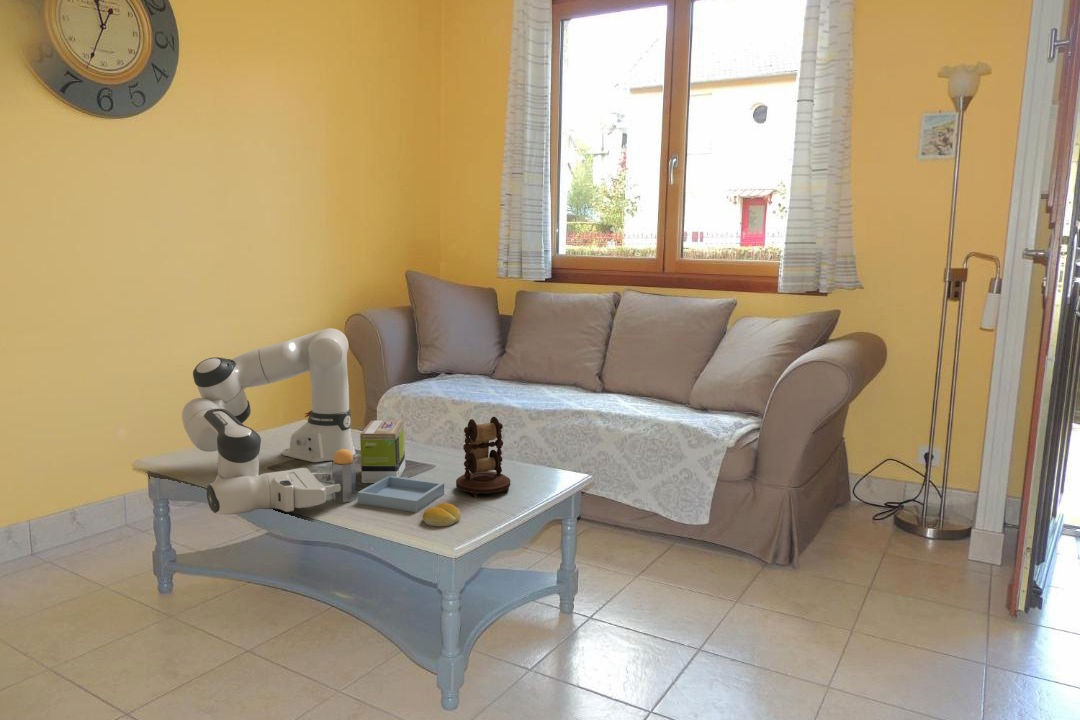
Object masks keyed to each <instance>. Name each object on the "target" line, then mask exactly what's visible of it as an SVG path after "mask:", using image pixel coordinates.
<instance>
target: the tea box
mask: <svg viewBox="0 0 1080 720" xmlns="http://www.w3.org/2000/svg"><path fill="white" fill-rule="evenodd" d="M359 436H360V437H359V440H360V441H359V443H360V462H361V463H360V465H361V467H360V468H361V483H362V484H363V483H376V482H378V481H379V480H381V479H383V478H385V477H387V476H395V477H401V476H402V474H403V473H404V471H405V469H406V450H405V449H406V448H405V447H406V446H405V421H404V420H370V421H369V422H368V424H367V425H366V426H365V427H364V429H363V430H362V432H361V433H360V434H359Z"/></svg>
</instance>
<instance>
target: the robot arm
mask: <svg viewBox="0 0 1080 720" xmlns="http://www.w3.org/2000/svg"><path fill="white" fill-rule="evenodd" d="M349 345H350V344H349V340H348V337H347V336H346V334H344V333H343V331H341V330H339V329H337V328H331V327H330V328H328V327H327V328H324V329H320V330H317V331H313V332H311V333H307V334H304V335H301V336H298V337H295V338H291V339H289V340H285V341H281V342H277V343H274V344H271V345H265V346H263V347H260V348H255V349H253V350H250V351H246V352H245V353H242V354H240V355H238V356H235V357H233V358H232V359H229V358H225V357H218V356H217V357H209V358H205V359H204V360H202V361H200V362H199V363H197V365H196V366H195V367H194V369H193V371H192V376H193V377H192V379H193V381H194V384H195V385H196V386H197V391H198V393H199V395H200V397H197V398H196V397H195V398H194V399H191V400H189V401H188V402H186V404H185V405H184V406H183V409H182V412H181V418H182V424H183V427H184V430H185V433H186V434H187V436H188V438H189V440H190V442H191V443H192V444H193V446H195V447H196V448H197V449H199V450H200V451H203V452H206V453H207V452H209V453H211V452H217V475H216V478H215V480H213V482H210V483H209V484H208V485H207V487H206V499H207V502H208V503H207V504H208V506H209V509H210V510H211V511H212V513H214V514H217V515H238V514H247V513H252V512H253V511H255V510H256V511H257V510H273V509H275V510H281V511H283V512H286V513H289V512H294V510H295V509H303V508H309V507H313V506H317V505H321V504H324V503H326V502H327V496H329V495H331V494H333V492H338V491H340V490H341V485H340V484H339V483H333V482H332V484H329V485H323V484H322V483H321V481H322V482H329V481H331V480H332V479H331V477H332V476H331V475H332V474H330V473H329V472H312V471H310V469H308V468H307V467H299V468H293V469H289V470H288V469H287V470H279V471H273V472H265V473H261V474H260V473H259V472H260V452H261V445H262V444H261V443H262V439H261V436H260V434H259V433H257V431H255V430H254V429H253V428H251V427H249V426H246V425H244V424H243V423H245V422H246V421H247V420H248V418H249V417H250V416H251V409H252V408H251V405H250V402H249V400H248V399H247V398H248V397H247V394H246V392H245V389H247V388H255V387H261V386H264V385H269V384H273V383H276V382H280V381H283V380H284V381H285V380H287V379H292V378H295V377H297V376H300V375H302V374H305V373H308V372H309V376H310V384H311V410H310V411H308V412H305V413H304V415H305V416H304V418H307V417H308V419H307V422H305V423H304V424H303V425H302V426H300V427H299V428H298V429H297V430H295V431H294V432H293V433H292V434H291V437H290V441H289V446H288V447H286V448H284V449H283V450H282V452H281V455H282V456H286V457H290V458H292V459H298V460H302V461H306V462H311V463H320V462H326V461H327V462H329V461H334V456H335V454H336V452H337V451H339V450H341V449H347V450H349V451H350V452H351V453H352V455H353V456H355V455H356V452H357V451H356V449H355V447H354V443H353V439H352V438H353V437H352V431H351V424H352V413H351V408H350V394H349V393H350V389H349V388H350V385H349V378H348V377H349V376H348V375H349V374H348V373H349V371H348V351H349V347H350V346H349Z"/></svg>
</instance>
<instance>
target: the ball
mask: <svg viewBox="0 0 1080 720" xmlns="http://www.w3.org/2000/svg"><path fill="white" fill-rule="evenodd" d="M353 460H354V455H352V453H351V452H350V451H349V450H347V449H341V450H339V451H337V452H336V454H335V456H334V460H333V461H334V462H335V463H336V464H341V465H344V464H350V463H352V461H353Z"/></svg>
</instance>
